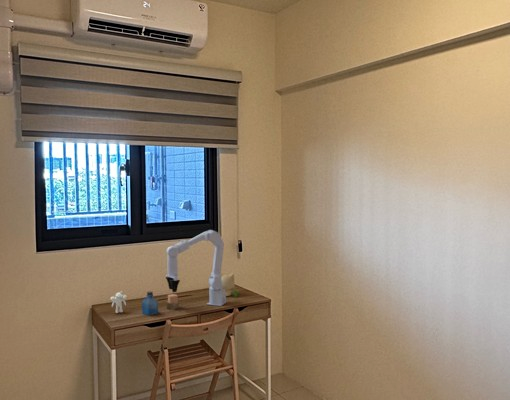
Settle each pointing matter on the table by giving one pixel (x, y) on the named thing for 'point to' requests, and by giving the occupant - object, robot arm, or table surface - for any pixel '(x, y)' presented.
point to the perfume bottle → (149, 305)
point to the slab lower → (173, 307)
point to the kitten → (228, 284)
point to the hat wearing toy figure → (118, 301)
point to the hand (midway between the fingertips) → (172, 290)
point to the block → (172, 298)
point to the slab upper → (172, 304)
